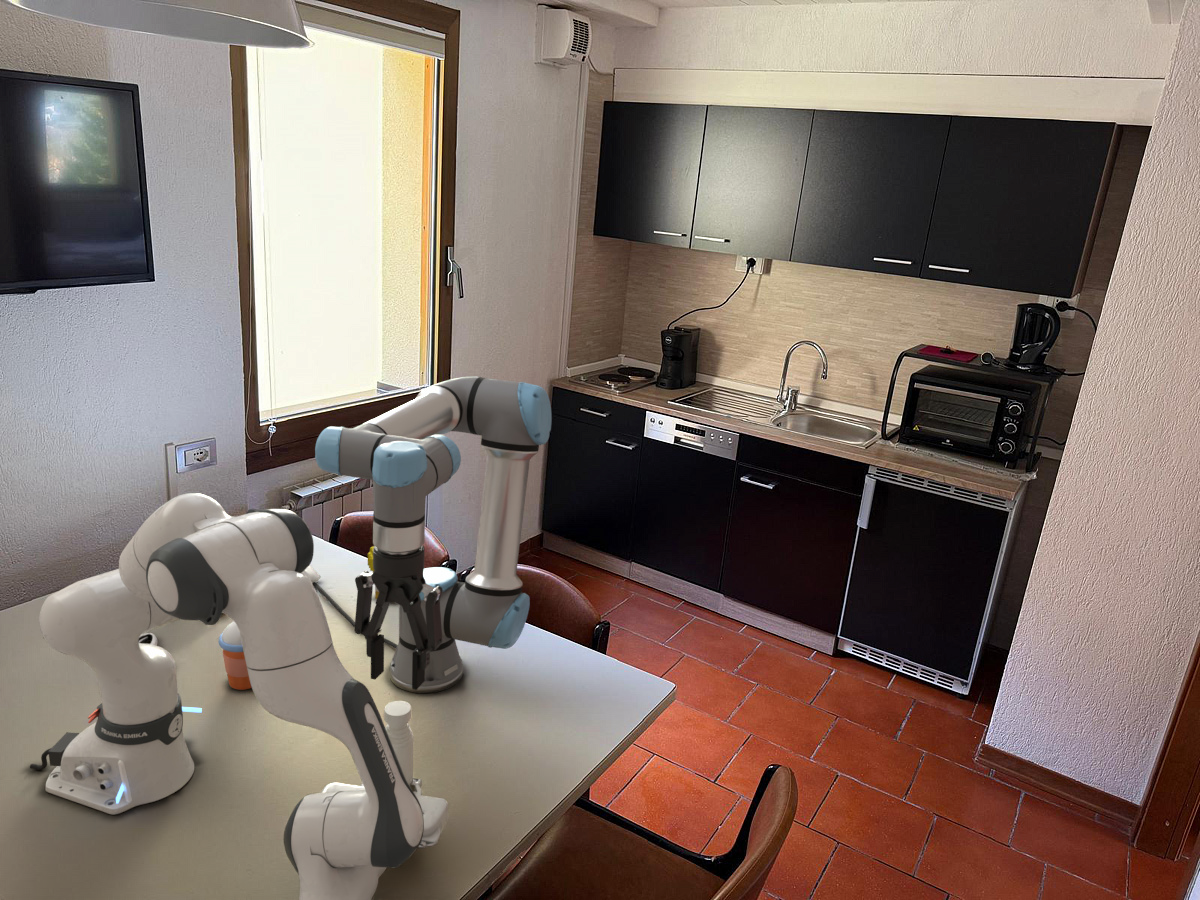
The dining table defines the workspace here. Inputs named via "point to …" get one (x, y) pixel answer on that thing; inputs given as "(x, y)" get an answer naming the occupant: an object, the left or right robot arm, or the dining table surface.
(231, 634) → the cup with straw
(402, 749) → the bottle
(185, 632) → the dining table surface
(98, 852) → the dining table surface
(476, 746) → the dining table surface
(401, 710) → the cap
